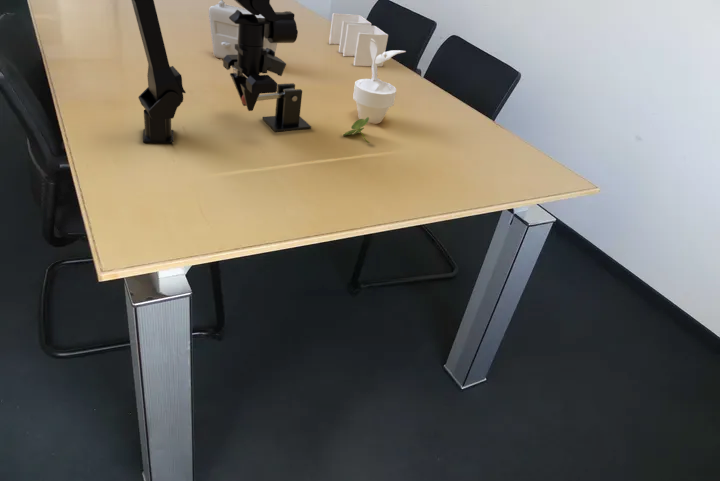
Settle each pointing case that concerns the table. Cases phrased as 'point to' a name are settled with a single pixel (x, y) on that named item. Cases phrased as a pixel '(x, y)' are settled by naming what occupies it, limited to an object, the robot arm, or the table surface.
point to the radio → (228, 30)
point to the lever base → (287, 111)
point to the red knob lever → (269, 95)
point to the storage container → (356, 37)
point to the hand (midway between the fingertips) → (247, 108)
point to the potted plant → (375, 89)
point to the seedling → (358, 127)
